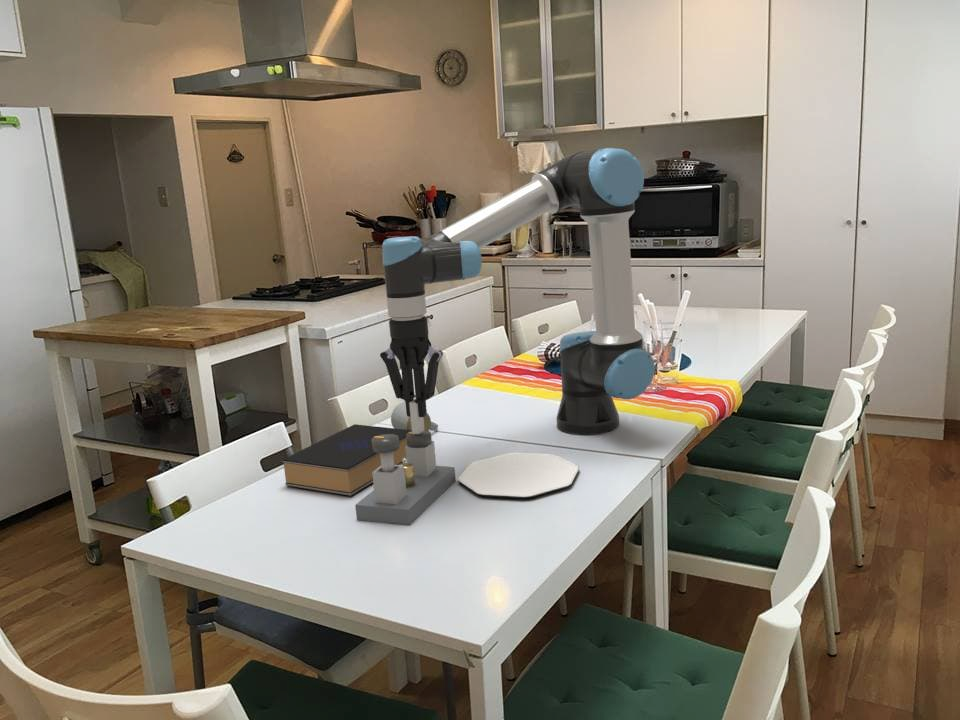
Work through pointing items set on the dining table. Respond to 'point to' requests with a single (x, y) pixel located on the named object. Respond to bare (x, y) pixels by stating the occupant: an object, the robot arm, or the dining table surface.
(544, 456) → the plate
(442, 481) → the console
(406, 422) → the ceramic mug
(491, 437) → the dining table surface
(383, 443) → the knob
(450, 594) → the dining table surface
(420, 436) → the knob
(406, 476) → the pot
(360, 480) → the book
